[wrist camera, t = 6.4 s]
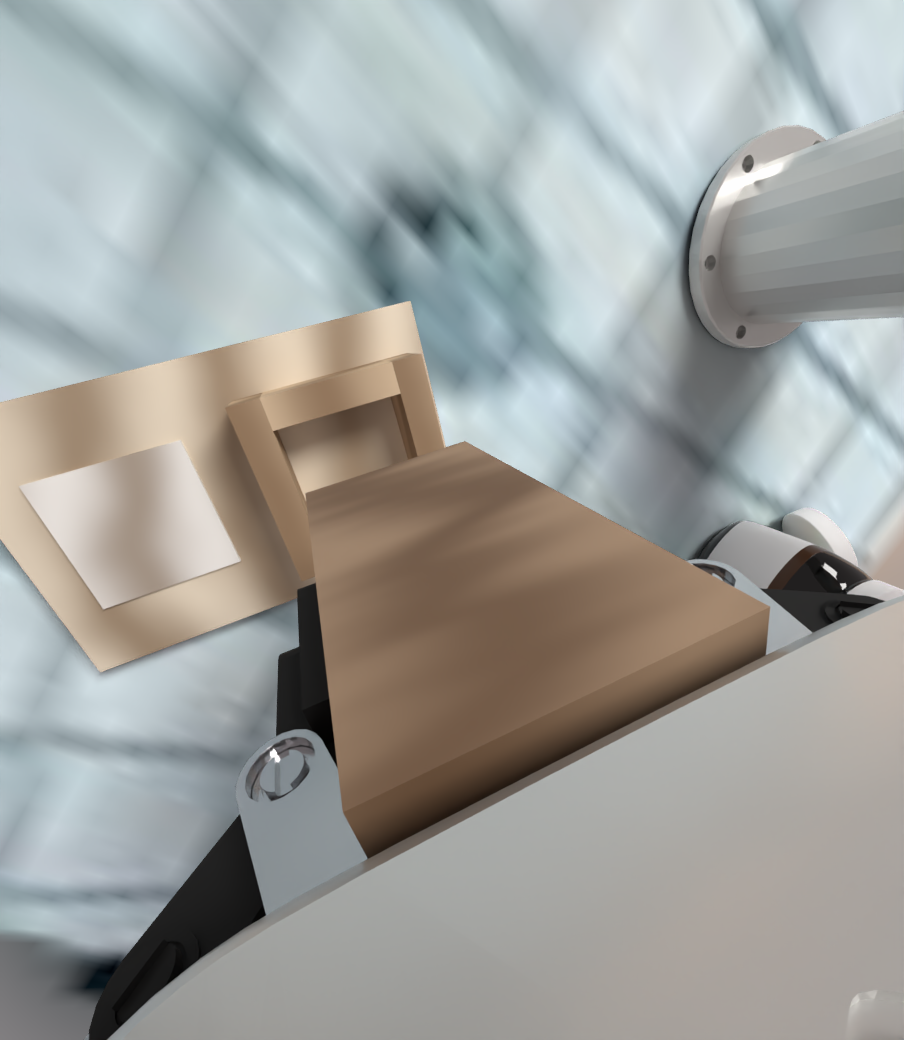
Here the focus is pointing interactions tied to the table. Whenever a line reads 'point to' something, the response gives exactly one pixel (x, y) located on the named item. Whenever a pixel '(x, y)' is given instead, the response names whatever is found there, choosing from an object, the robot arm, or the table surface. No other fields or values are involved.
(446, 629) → the walnut block
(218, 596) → the pocket board
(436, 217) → the table surface
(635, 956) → the robot arm
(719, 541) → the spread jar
